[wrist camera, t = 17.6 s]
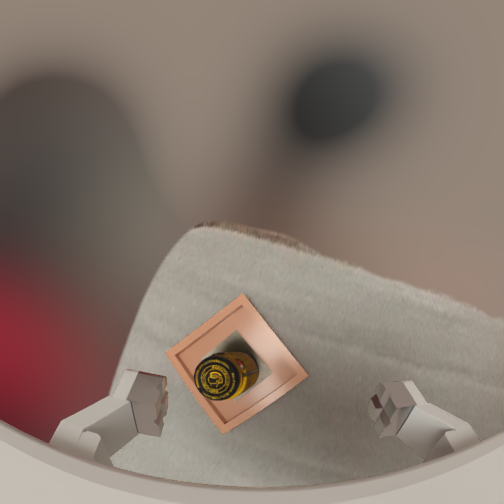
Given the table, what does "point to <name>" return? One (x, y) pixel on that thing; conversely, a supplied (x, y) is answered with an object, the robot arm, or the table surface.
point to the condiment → (230, 370)
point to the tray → (265, 346)
